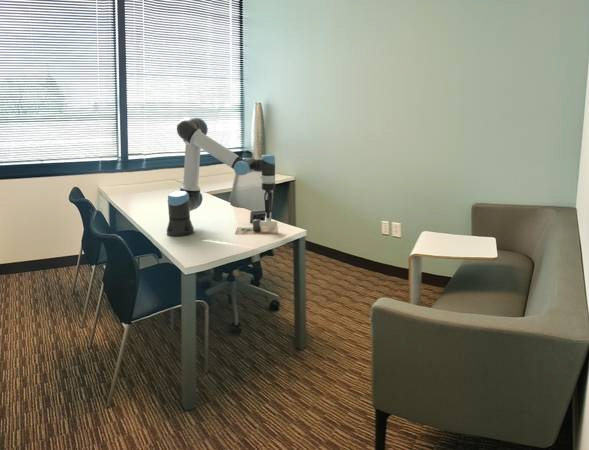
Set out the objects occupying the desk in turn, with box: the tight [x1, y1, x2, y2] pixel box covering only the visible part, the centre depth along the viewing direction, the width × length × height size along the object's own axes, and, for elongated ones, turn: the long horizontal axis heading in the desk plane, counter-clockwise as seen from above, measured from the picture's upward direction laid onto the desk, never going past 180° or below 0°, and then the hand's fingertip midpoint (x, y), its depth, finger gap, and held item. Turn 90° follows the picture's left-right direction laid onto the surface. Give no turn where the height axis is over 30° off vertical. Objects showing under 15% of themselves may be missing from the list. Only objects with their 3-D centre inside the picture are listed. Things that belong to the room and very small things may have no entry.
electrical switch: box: [249, 209, 266, 224], centre depth 298 cm, size 9×5×9 cm, turn 113°
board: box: [234, 226, 279, 236], centre depth 280 cm, size 24×16×2 cm, turn 92°
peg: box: [240, 219, 278, 231], centre depth 279 cm, size 22×4×6 cm, turn 75°
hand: (268, 223), depth 280 cm, fingers closed
